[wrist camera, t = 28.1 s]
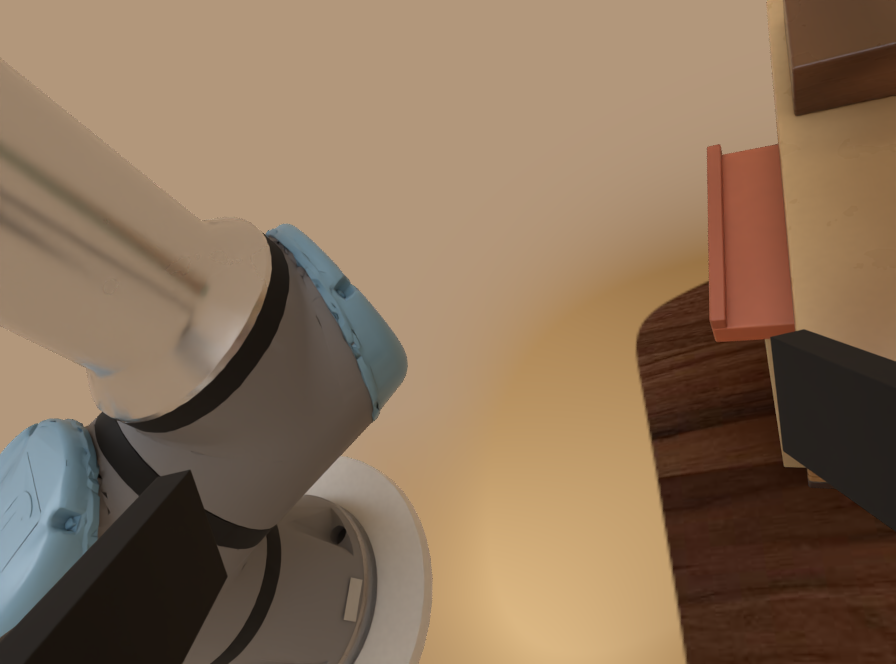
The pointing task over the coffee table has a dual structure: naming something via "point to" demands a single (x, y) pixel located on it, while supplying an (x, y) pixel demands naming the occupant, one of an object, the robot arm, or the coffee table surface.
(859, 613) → the coffee table surface
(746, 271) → the red-capped tan pillar
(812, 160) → the tan wooden block
